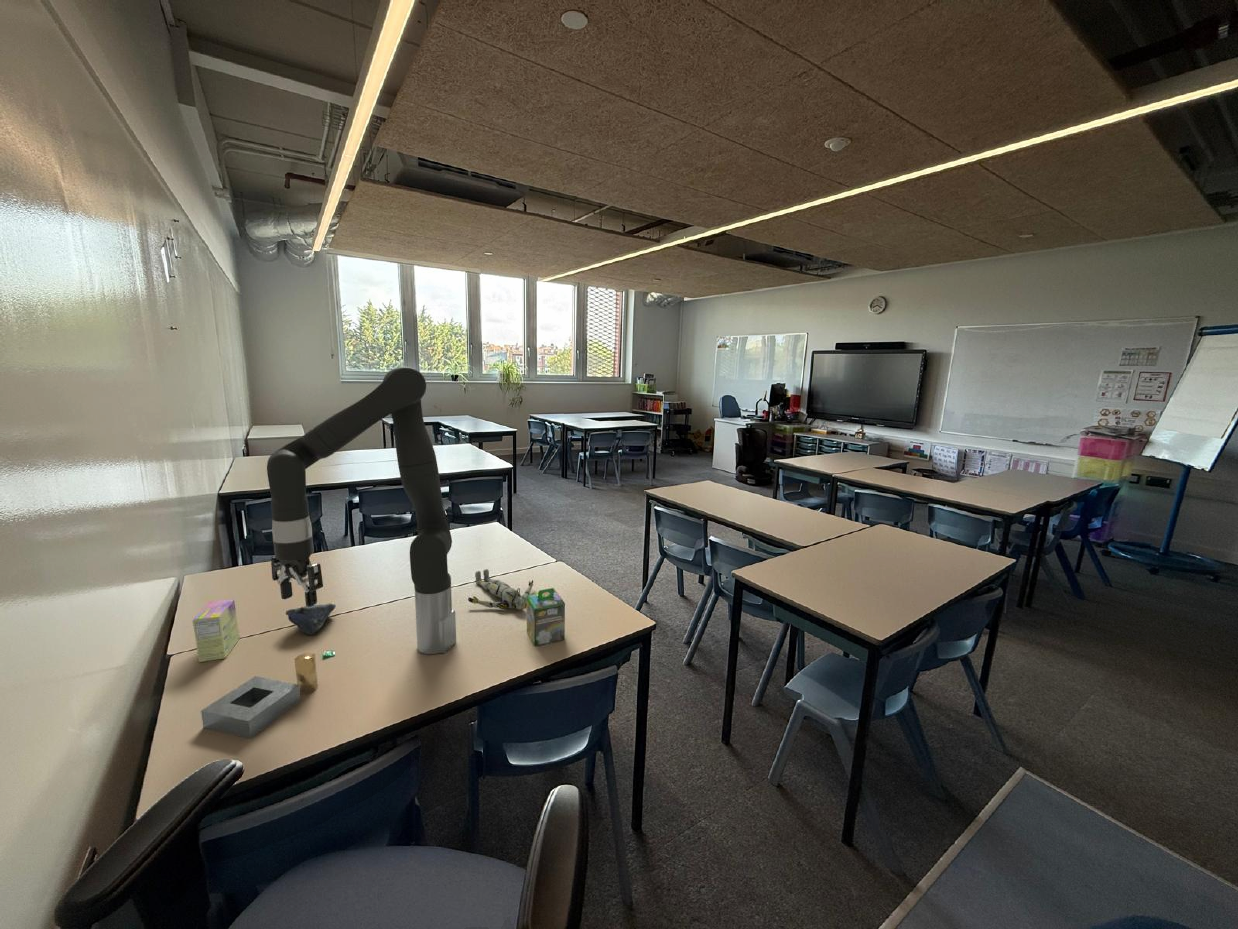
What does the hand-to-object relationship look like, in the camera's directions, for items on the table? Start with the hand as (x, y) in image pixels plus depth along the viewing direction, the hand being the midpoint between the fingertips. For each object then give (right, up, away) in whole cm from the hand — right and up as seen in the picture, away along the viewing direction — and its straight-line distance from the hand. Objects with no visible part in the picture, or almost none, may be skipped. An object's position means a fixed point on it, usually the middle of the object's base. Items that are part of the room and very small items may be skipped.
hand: (299, 601), depth 115 cm
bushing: (+3, -20, -1) cm, 20 cm away
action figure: (+36, -13, +49) cm, 62 cm away
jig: (-4, -22, -10) cm, 24 cm away
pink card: (-1, -18, +13) cm, 22 cm away
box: (-30, -17, +13) cm, 37 cm away
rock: (-14, -15, +27) cm, 34 cm away
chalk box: (+54, -17, +25) cm, 63 cm away
